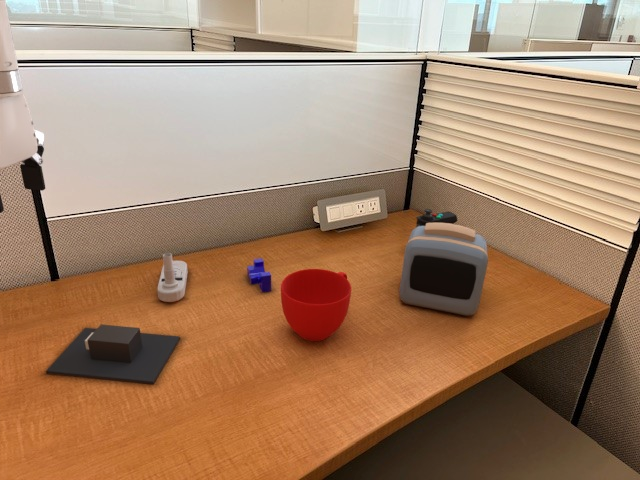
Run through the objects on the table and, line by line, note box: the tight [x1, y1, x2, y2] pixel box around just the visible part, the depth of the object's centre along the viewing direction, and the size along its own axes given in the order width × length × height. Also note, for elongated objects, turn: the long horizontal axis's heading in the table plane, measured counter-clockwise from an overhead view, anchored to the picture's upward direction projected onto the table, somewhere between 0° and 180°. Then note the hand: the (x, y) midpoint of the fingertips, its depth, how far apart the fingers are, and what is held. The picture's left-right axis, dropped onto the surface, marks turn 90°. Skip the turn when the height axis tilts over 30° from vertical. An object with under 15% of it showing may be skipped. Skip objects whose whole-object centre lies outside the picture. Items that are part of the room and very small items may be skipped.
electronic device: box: [156, 252, 189, 303], centre depth 103 cm, size 5×10×15 cm
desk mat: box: [45, 327, 181, 385], centre depth 83 cm, size 18×12×1 cm, turn 85°
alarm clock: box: [398, 223, 489, 317], centre depth 103 cm, size 16×16×16 cm
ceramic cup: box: [280, 268, 352, 342], centre depth 91 cm, size 13×17×10 cm
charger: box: [85, 323, 142, 363], centre depth 82 cm, size 8×4×4 cm, turn 85°
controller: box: [415, 208, 458, 227], centre depth 128 cm, size 4×12×10 cm, turn 118°
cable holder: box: [246, 258, 272, 293], centre depth 106 cm, size 8×4×4 cm, turn 20°
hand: (15, 199), depth 73 cm, fingers open, 9 cm apart
